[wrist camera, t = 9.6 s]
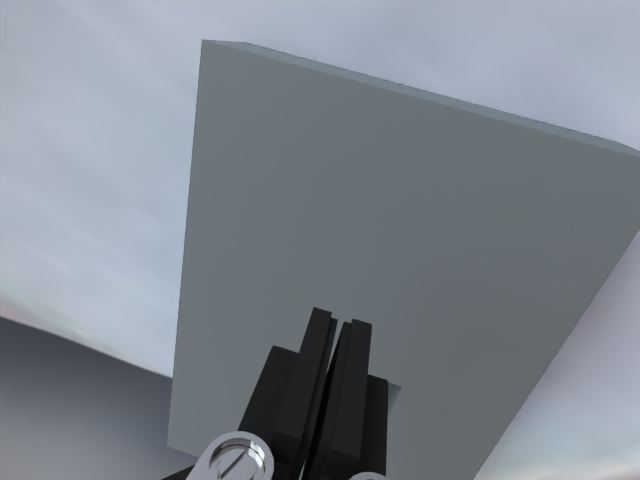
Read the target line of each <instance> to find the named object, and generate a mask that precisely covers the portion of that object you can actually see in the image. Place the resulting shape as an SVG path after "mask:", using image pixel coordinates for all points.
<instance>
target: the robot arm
mask: <svg viewBox="0 0 640 480" xmlns="http://www.w3.org/2000/svg"><path fill="white" fill-rule="evenodd" d="M331 315H332V312H330V311H327V310H323V309H320V308H317V307H313V310H312V313H311V316H310V319H309V323H308V326H307V329H306V332H305V335H304V338H303V341H302V344H301V347H300V351H299V353H298V352H294V351H291V350H288V349H284V348H281V347H278V346H275V345H273V346H272V348H271V350H270V353H269V355H268V357H267V360H266V362H265V365H264V367H263V370H262V372H261V374H260V377H259V379H258V382H257V384H256V386H255V389H254V391H253V394H252V396H251V398H250V401H249V403H248V406H247V408H246V410H245V413H244V415H243V418H242V420H241V422H240V425H239V427H238V430H237V431H233V432H230V433H226V434H223V435H221V436H220V437H218V438H216V439H215V440H213V442H212V443H211V444H210V445H209V446H208V447H207V448H206V450H205V451H204V453H203V454H202V456H201V457H200V459H199V460H198V462H197V463H196V464H195V465H193V466H191V467H188V468H186V469H184V470H182V471H180V472H177V473H175V474H173V475H171V476H168V477H166V478H164V479H162V480H299V477H300V474H301V471H302V469H303V473H302V477H301V480H390V479H388V478H386V456H387V422H388V388H389V387H388V380H386V379H383V378H380V377H376V376H373V375H370V374H368V366H369V355H370V345H371V334H372V324H370V323H367V322H364V321H360V320H357V319H352V321H351V323H348V322H345V321H344V323H343V326H342V329H341V332H340V335H339V338H338V341H337V344H336V347H335V350H334V353H333V356H332V359H331V362H330V365H329V360H330V356H331V351H332V346H333V342H334V337H335V333H336V328H337V323H338V319H335V318H332V317H331ZM328 365H329V368H328ZM327 369H328V371H327ZM304 463H305V464H304ZM303 466H304V468H303Z"/></svg>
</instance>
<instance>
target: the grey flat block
mask: <svg viewBox="0 0 640 480" xmlns="http://www.w3.org/2000/svg"><path fill="white" fill-rule="evenodd" d="M639 229H640V151H638V150H635V149H633V148H631V147H628V146H626V145H623V144H621V143H618V142H614V141H610V140H607V139H603V138H599V137H596V136H592V135H588V134H584V133H581V132H577V131H573V130H569V129H566V128H562V127H558V126H554V125H551V124H547V123H543V122H540V121H536V120H532V119H528V118H525V117H521V116H517V115H513V114H510V113H506V112H502V111H499V110H495V109H491V108H487V107H484V106H480V105H476V104H472V103H469V102H465V101H461V100H457V99H454V98H450V97H446V96H443V95H439V94H435V93H431V92H428V91H424V90H420V89H416V88H413V87H409V86H405V85H402V84H398V83H394V82H390V81H387V80H383V79H379V78H375V77H372V76H368V75H364V74H360V73H357V72H353V71H349V70H346V69H342V68H338V67H334V66H331V65H327V64H323V63H319V62H316V61H312V60H308V59H305V58H301V57H297V56H293V55H290V54H286V53H282V52H278V51H275V50H271V49H267V48H263V47H260V46H256V45H252V44H249V43H245V42H231V41H216V40H202V46H201V58H200V69H199V81H198V92H197V104H196V116H195V127H194V139H193V150H192V162H191V173H190V185H189V196H188V208H187V219H186V231H185V243H184V254H183V266H182V277H181V289H180V300H179V312H178V323H177V335H176V347H175V358H174V370H173V381H172V393H171V405H170V416H169V429H168V440H167V446H169V447H171V448H174V449H177V450H179V451H182V452H185V453H188V454H191V455H193V456H196V457H199V458H200V457H201V456H202V454H203V453H204V451H205V450H206V448H207V447H208V446H209V445H210V444H211V443H212V442H213V440H215V439H216V438H218V437H220V436H221V435H223V434H226V433H230V432H233V431H237V430H238V427H239V425H240V422H241V420H242V418H243V415H244V413H245V410H246V408H247V406H248V403H249V401H250V398H251V396H252V394H253V391H254V389H255V386H256V384H257V382H258V379H259V377H260V374H261V372H262V370H263V367H264V365H265V362H266V360H267V357H268V355H269V353H270V350H271V348H272V346H273V345H275V346H278V347H281V348H284V349H289V350H292V351H295V352H298V353H299V351H300V347H301V344H302V341H303V338H304V335H305V332H306V329H307V326H308V323H309V319H310V316H311V313H312V310H313V307H317V308H320V309H323V310H327V311H330V312H332V315H331V317H332V318H335V319H338V323H337V328H336V333H335V337H334V342H333V346H332V351H331V356H330V360H329V363H330V362H331V359H332V356H333V353H334V350H335V347H336V344H337V341H338V338H339V335H340V332H341V329H342V326H343V323H344V321H345V322H348V323H351V321H352V319H357V320H360V321H364V322H367V323H370V324H372V334H371V345H370V355H369V366H368V374H370V375H373V376H376V377H380V378H383V379H386V380H388V387H389V388H388V422H387V456H386V478H388V479H390V480H473V479H474V477H475V476H476V474H477V473H478V471H479V470H480V468H481V467H482V465H483V464H484V462H485V461H486V459H487V458H488V456H489V455H490V453H491V452H492V450H493V449H494V447H495V446H496V444H497V443H498V441H499V440H500V438H501V437H502V435H503V434H504V432H505V431H506V429H507V428H508V426H509V425H510V423H511V422H512V420H513V419H514V417H515V415H516V414H517V412H518V411H519V409H520V408H521V406H522V405H523V403H524V402H525V400H526V399H527V397H528V396H529V394H530V393H531V391H532V390H533V388H534V387H535V385H536V384H537V382H538V381H539V379H540V378H541V376H542V375H543V373H544V372H545V370H546V369H547V367H548V366H549V364H550V363H551V361H552V360H553V358H554V357H555V355H556V354H557V352H558V351H559V349H560V348H561V346H562V345H563V343H564V342H565V340H566V339H567V337H568V336H569V334H570V333H571V331H572V330H573V328H574V327H575V325H576V324H577V322H578V321H579V319H580V318H581V316H582V315H583V313H584V312H585V310H586V309H587V307H588V306H589V304H590V303H591V301H592V300H593V298H594V297H595V295H596V294H597V292H598V291H599V289H600V288H601V286H602V285H603V283H604V282H605V280H606V279H607V277H608V276H609V274H610V273H611V271H612V270H613V268H614V267H615V265H616V264H617V262H618V261H619V259H620V258H621V256H622V255H623V253H624V252H625V250H626V249H627V247H628V246H629V244H630V243H631V241H632V240H633V238H634V236H635V235H636V233H637V232H638V230H639ZM304 464H305V463H304ZM303 468H304V466H303ZM302 473H303V469H302V471H301V474H300V477H299V480H301V477H302Z"/></svg>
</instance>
